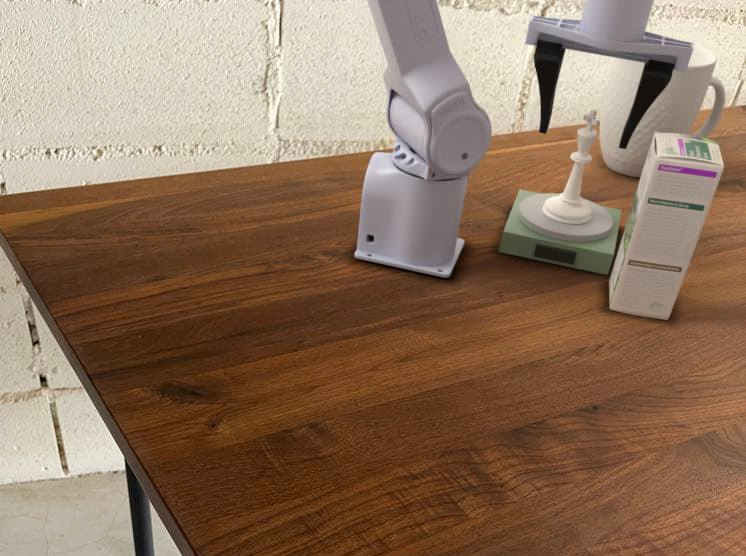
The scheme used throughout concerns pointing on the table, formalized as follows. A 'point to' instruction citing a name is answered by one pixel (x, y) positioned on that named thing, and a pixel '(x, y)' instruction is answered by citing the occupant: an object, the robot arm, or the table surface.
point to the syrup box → (664, 224)
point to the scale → (561, 235)
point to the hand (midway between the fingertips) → (583, 137)
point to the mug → (656, 109)
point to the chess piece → (575, 180)
